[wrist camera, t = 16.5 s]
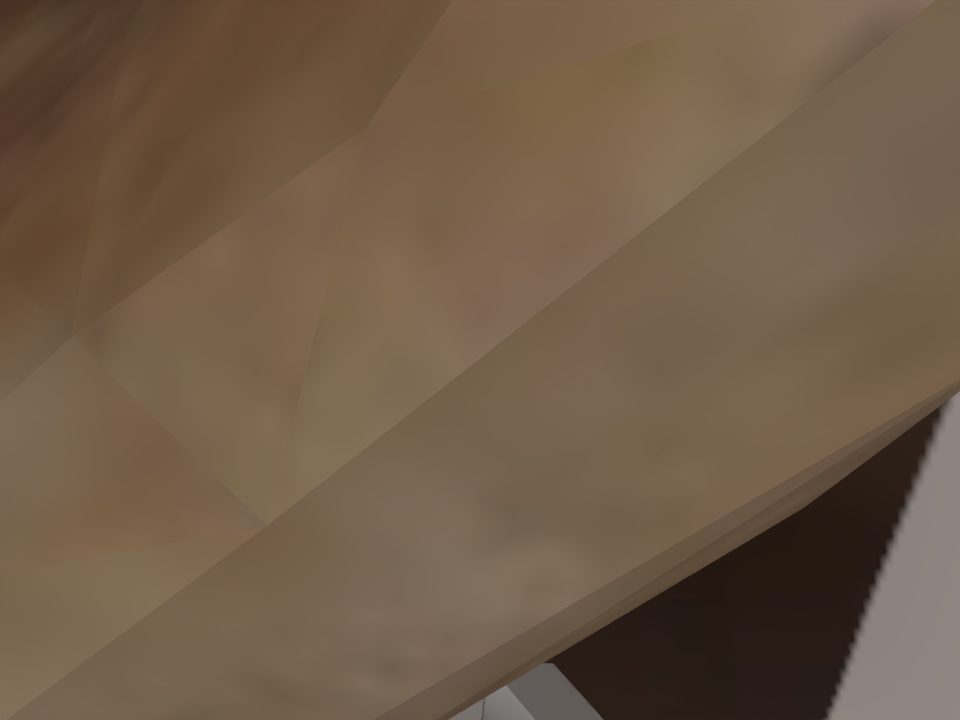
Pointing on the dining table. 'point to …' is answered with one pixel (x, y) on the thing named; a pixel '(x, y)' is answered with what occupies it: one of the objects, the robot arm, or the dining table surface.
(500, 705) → the robot arm
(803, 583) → the dining table surface
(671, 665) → the dining table surface
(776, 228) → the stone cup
